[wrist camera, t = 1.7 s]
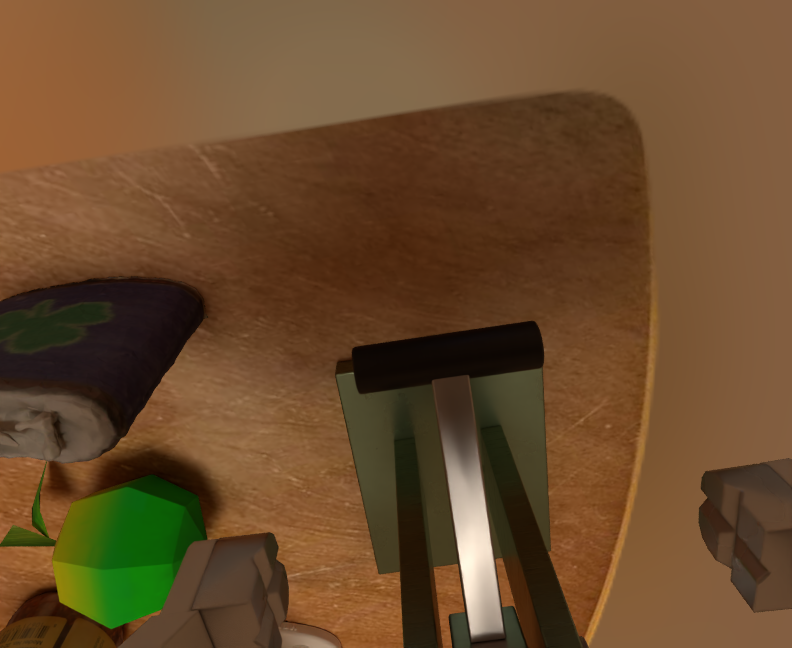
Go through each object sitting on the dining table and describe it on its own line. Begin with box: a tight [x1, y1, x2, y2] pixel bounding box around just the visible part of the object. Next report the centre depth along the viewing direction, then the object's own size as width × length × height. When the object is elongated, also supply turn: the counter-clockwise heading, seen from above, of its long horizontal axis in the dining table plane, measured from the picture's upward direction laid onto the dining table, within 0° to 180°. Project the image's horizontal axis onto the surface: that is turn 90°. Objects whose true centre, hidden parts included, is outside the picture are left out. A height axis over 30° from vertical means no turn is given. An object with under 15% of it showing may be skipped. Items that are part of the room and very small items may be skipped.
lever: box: [352, 321, 544, 648], centre depth 17 cm, size 12×6×2 cm, turn 8°
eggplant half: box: [0, 276, 208, 463], centre depth 19 cm, size 9×3×11 cm, turn 95°
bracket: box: [335, 360, 589, 648], centre depth 21 cm, size 12×9×13 cm
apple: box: [0, 461, 207, 629], centre depth 25 cm, size 7×6×9 cm
